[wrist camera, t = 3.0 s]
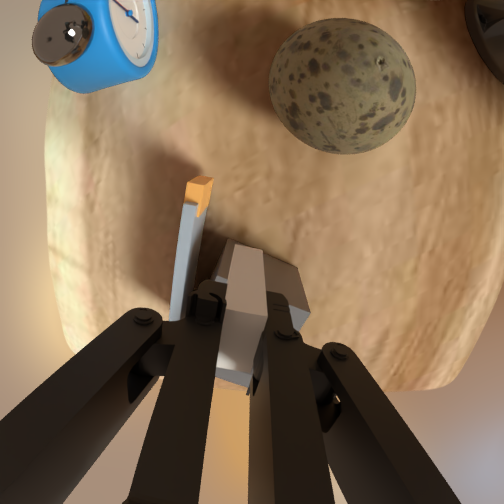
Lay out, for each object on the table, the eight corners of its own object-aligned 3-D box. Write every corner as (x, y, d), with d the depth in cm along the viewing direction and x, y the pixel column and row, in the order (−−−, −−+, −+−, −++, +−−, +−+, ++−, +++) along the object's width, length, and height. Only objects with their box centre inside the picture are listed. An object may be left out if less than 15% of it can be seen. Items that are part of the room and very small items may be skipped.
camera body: (228, 237, 31) (216, 279, 22) (297, 267, 32) (311, 317, 23) (191, 321, 34) (173, 377, 25) (252, 344, 35) (251, 403, 26)
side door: (201, 173, 28) (182, 184, 21) (215, 176, 28) (201, 187, 21) (179, 313, 34) (163, 352, 27) (191, 315, 34) (177, 356, 27)
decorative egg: (251, 129, 27) (244, 113, 13) (286, 34, 23) (309, -47, 9) (352, 167, 28) (432, 194, 14) (384, 76, 24) (473, 41, 10)
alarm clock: (162, 88, 25) (83, 51, 11) (108, 101, 25) (10, 87, 11) (160, -12, 21) (105, -84, 7) (110, 3, 21) (36, -49, 7)
